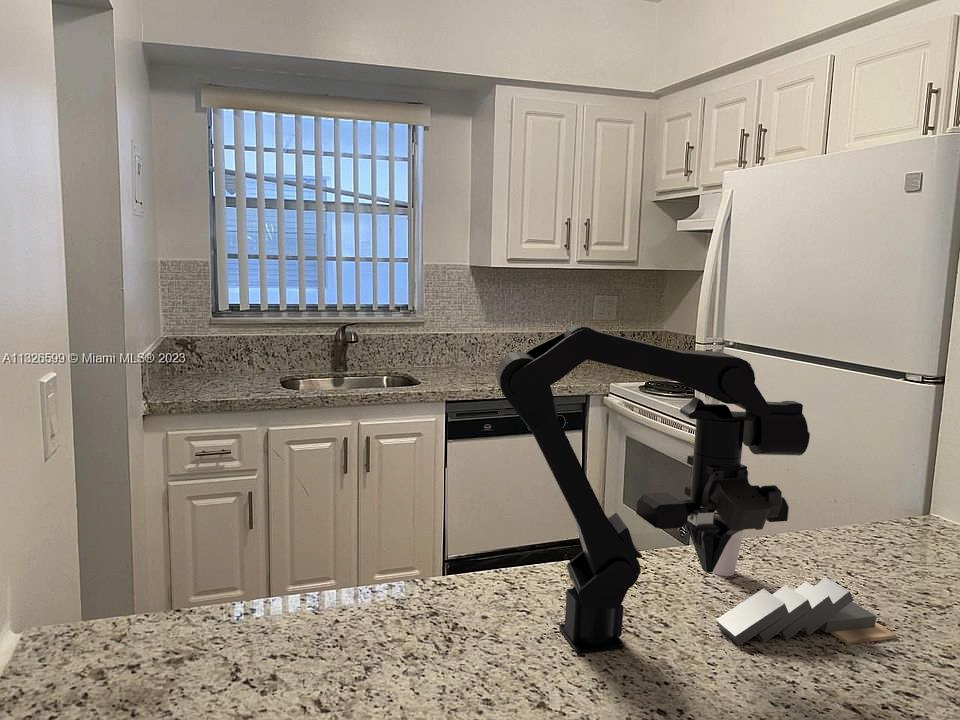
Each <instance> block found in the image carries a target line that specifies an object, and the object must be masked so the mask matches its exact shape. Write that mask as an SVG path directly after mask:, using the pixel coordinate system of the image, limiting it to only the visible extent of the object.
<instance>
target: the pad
mask: <svg viewBox="0 0 960 720" xmlns="http://www.w3.org/2000/svg"><path fill="white" fill-rule="evenodd" d="M829 633H830V634H831V635H832V634H833V636H834V637H835V638H837V639H838V638H839V639H838V640H840V641H841V642H843V643H844V644H846V645H851V644H858V643H859V644H860V643H868V642H869V643H870V642H877V641H886V640H895V639H897V634H896V633H894V632H893V631H891V630H889V629H887V628H886V627H884V626H883V625H881V624H880V623H878V622H877V621H876V622H875V627H872V628H863V629H855V630H846V631H837V632H829Z"/></svg>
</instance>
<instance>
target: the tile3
mask: <svg viewBox="0 0 960 720" xmlns="http://www.w3.org/2000/svg"><path fill="white" fill-rule="evenodd" d="M814 586H815V585H813V584H812V583H809V582H808V581H804V582H803V583H802V584H801V585H799V586H798V587H796V588H795V589H793V590H794V591H796V592H797V593H799V594H800V595H802V596H803V597H805V598H807V599H808V601H809V603H810V605H811V607H812V609H811V610H810V611H808V612H807V613H806V614H804V615H803V616H801V617H800V618H799V619H797V620H796V621H794V622H793V623H792V624H790V625H789V626H787V627H786V628H785V629H783V630H782V631H781V632H779V633H778V634H777V635H780V636H781V637H782V638H784V639H785V640H786V641H788V640H790V639H791V638H792V637H794V635H796V634H798V633H799V632H800V631H801V629H803V628H804V627H805V626H806V625H808V624H809V623H810V622H812V621H813V620H814V619H815V618H817V617H818V616H819V615H821V614H822V613H823V612H825V611H826V610H827V609H828V608H830V607H831V606H832V605H833V603H832V601H831V599H830V597H829V595H827V594H826V593H824V592H822V591H821V590H819V589H818V588H816V587H814Z"/></svg>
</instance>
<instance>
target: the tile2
mask: <svg viewBox="0 0 960 720" xmlns="http://www.w3.org/2000/svg"><path fill="white" fill-rule="evenodd" d="M794 590H795V589H793V588H791V587H790V586H788V585H786V584H785V585H783V586H782V587H780V588H779V589H778V590H776V591H775V592H774V593H771V594H772V595H773V596H775V597H776V598H778V599H779V600H781V601H782V602H784V603H785V605H786V607H787V610H788V612H789V613H788V614H787V615H785V616H784V617H782V618H781V619H779V620H778V621H776V622H775V623H773V624H772V625H770V626H769V627H767V628H766V629H764V630H763V631H761V632H760V633H758V634H757V635H755V636H754V637H756V638H757V639H758V640H760V641H761V642H762V643H764V644H765V643H767V642H768V641H770V640H771V639H772V638H774V637H775V636H776V635H779V634H778V633H779V632H781V631H782V630H783V629H785V628H786V627H787V626H789V625H790V624H792V623H793V622H794V621H796V620H797V619H799V618H800V617H801V616H803V615H804V614H806V613H807V612H808V611H810V610H811V609H812V607H811V605H810V603H809V601H808V599H807V598H805V597H803V596H802V595H800V594H799V593H797V592H796V591H794Z"/></svg>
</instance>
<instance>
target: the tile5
mask: <svg viewBox="0 0 960 720" xmlns="http://www.w3.org/2000/svg"><path fill="white" fill-rule="evenodd" d="M876 620H877V615H875V614H873V613H872V612H870V611H868V610H866V609H865V608H863V607H862V606H860V605H859V604H856V602H853V601H852V602H851V603H849V604H848V605H847V606H846V607H844V608H843V609H842V610H841V611H839V612H838V613H837V614H836V615H834V616H833V617H832V618H831V619H829V620H828V621H827V622H826V623H824V624H823V625H822V626H821V627H819V628H818V629H820V630H822V631H823V632H825V633H830V632H837V631H846V630H855V629H863V628H872V627H875V622H876V623H877V621H876Z"/></svg>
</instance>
